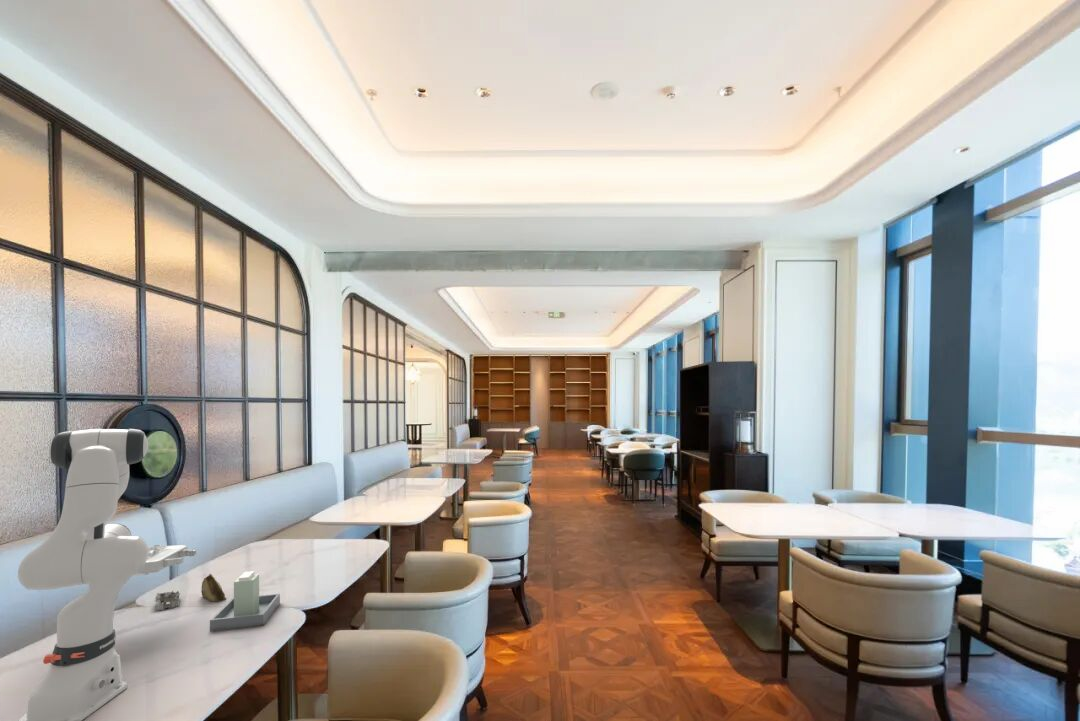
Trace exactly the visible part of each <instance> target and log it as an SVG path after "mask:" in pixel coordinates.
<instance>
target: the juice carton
mask: <svg viewBox="0 0 1080 721" xmlns="http://www.w3.org/2000/svg"><path fill="white" fill-rule="evenodd" d="M259 596H260V574H259V573H256V574H255V570H253V571H252V570H251V571H244V572H243V573H242V574H241V575H240V576H238V578H236V579H235V580H234V581H233V598H234V617H236V616H245V615H255V614H256V612H257V611H258V610H259Z"/></svg>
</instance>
